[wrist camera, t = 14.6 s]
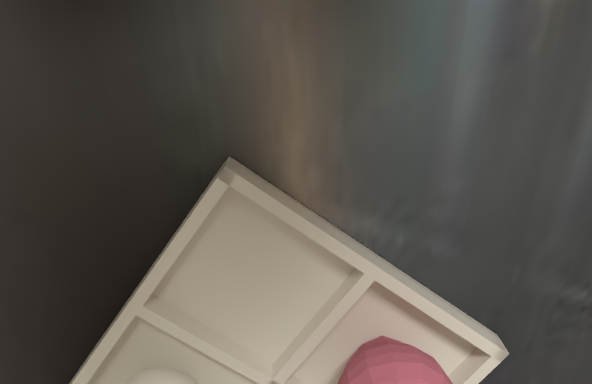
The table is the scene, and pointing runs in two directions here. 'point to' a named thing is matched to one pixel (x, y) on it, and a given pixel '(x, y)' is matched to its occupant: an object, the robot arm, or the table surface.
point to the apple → (392, 365)
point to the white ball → (160, 377)
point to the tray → (276, 300)
